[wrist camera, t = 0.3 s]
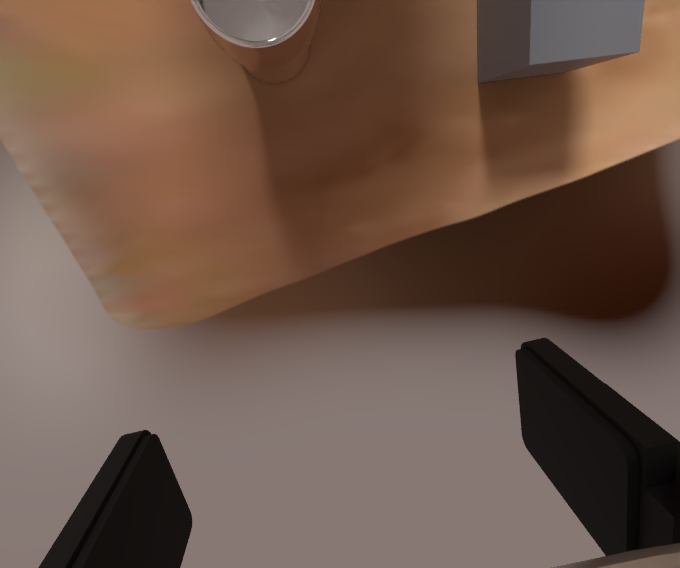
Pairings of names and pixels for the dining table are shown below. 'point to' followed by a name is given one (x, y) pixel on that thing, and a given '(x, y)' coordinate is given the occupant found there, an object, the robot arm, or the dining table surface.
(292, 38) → the beer glass
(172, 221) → the dining table surface
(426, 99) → the dining table surface
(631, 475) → the robot arm
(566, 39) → the matte gray cube
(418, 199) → the dining table surface
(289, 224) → the dining table surface
